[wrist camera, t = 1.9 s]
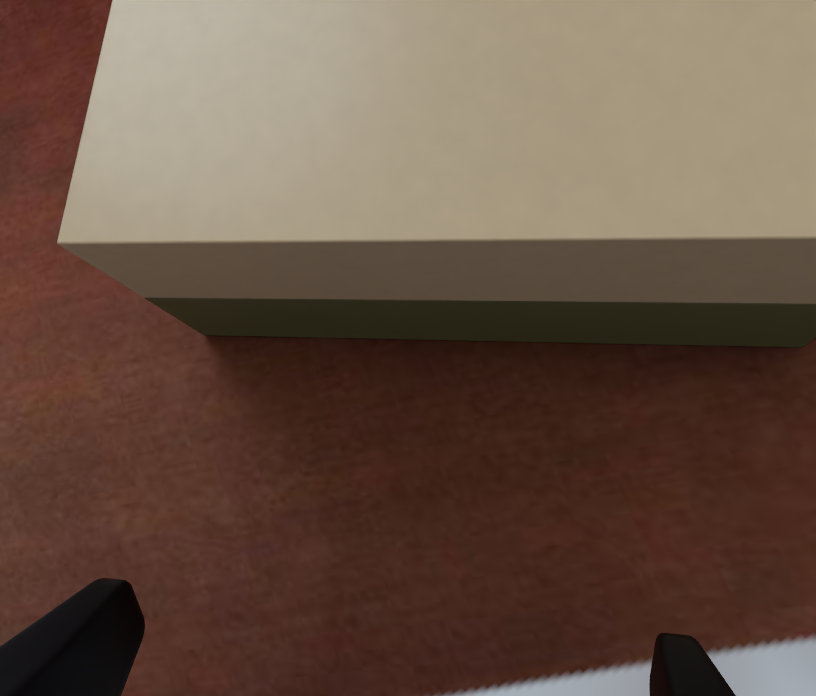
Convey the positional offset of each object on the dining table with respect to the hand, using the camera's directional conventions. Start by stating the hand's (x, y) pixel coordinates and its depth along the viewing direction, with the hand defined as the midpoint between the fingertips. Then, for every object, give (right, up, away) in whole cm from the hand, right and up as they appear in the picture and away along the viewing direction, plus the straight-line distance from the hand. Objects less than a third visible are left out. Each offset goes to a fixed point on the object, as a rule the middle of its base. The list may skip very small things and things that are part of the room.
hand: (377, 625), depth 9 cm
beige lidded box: (+3, +12, +16) cm, 20 cm away
